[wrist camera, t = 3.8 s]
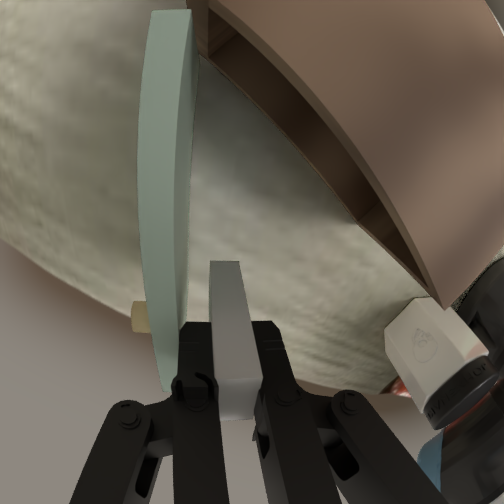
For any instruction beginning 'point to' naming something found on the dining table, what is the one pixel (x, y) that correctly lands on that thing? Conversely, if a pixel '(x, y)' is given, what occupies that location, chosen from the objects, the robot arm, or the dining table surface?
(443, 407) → the jar
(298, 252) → the dining table surface
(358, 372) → the dining table surface
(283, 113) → the case
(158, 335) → the door
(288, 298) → the dining table surface
